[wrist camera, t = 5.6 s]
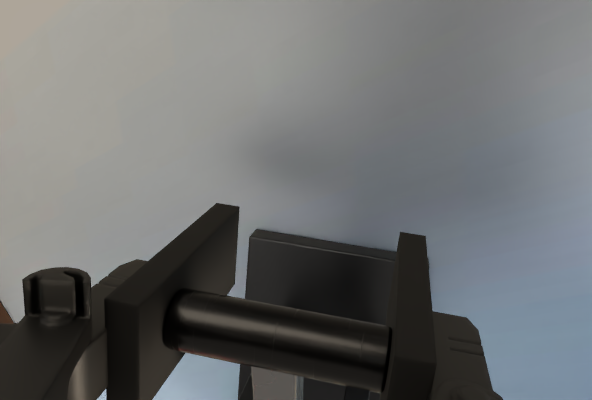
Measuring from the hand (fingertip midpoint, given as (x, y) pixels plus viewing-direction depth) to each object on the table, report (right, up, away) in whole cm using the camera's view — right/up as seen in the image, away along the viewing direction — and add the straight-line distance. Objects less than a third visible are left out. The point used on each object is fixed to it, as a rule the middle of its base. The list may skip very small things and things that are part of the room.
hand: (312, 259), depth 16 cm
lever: (-1, -5, 0) cm, 5 cm away
